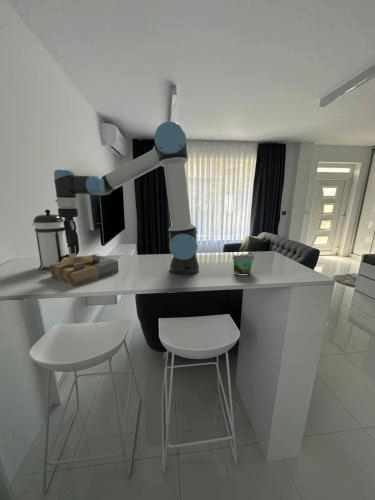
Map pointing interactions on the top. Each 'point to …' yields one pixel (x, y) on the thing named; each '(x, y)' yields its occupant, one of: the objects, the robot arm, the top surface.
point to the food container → (243, 263)
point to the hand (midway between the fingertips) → (73, 259)
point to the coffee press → (51, 239)
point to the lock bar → (82, 259)
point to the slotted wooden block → (84, 271)
